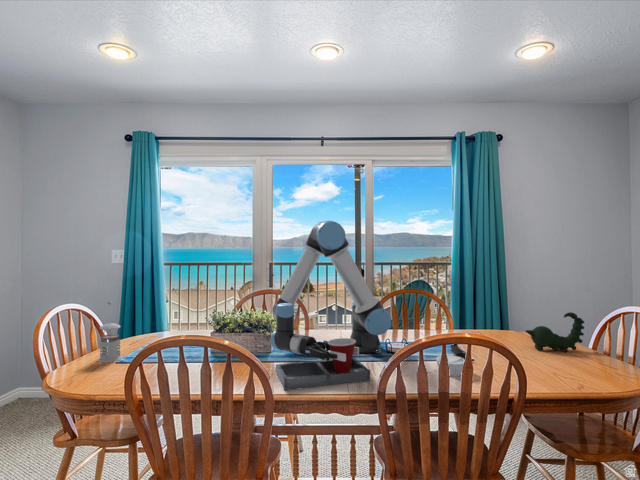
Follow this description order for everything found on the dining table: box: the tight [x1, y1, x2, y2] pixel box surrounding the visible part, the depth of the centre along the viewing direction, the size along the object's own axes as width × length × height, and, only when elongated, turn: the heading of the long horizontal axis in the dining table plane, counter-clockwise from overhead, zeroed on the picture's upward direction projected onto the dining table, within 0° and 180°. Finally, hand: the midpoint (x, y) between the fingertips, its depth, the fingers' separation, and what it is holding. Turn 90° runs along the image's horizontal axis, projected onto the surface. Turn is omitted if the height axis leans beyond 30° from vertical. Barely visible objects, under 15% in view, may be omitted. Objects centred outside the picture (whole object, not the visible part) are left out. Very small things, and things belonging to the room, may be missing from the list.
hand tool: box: [450, 343, 467, 360], centre depth 184 cm, size 19×4×5 cm, turn 171°
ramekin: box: [435, 354, 466, 377], centre depth 161 cm, size 11×11×5 cm
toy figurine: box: [525, 312, 585, 353], centre depth 190 cm, size 9×19×25 cm
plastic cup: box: [327, 337, 356, 373], centre depth 157 cm, size 11×11×12 cm
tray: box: [275, 357, 371, 391], centre depth 155 cm, size 32×16×4 cm, turn 106°
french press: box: [97, 300, 124, 363], centre depth 178 cm, size 10×12×25 cm
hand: (352, 354), depth 154 cm, fingers open, 9 cm apart
